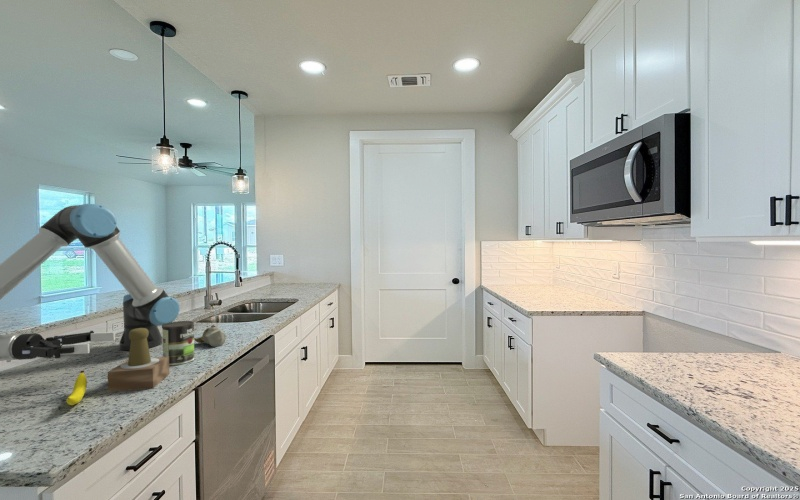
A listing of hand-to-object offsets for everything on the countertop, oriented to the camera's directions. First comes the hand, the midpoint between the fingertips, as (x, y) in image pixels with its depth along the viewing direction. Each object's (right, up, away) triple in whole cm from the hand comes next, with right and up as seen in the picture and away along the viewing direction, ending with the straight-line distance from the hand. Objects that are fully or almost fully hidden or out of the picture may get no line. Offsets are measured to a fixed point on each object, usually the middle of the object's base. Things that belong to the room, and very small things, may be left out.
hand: (102, 341), depth 112 cm
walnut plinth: (+10, -14, +2) cm, 17 cm away
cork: (+10, -7, +2) cm, 13 cm away
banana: (+3, -14, -12) cm, 19 cm away
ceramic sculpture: (+11, -13, +45) cm, 48 cm away
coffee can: (+10, -13, +23) cm, 28 cm away
